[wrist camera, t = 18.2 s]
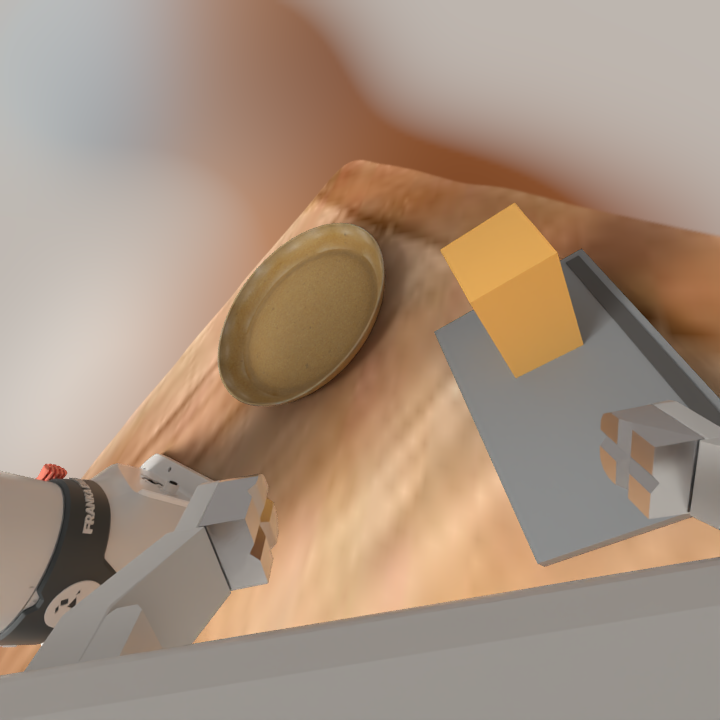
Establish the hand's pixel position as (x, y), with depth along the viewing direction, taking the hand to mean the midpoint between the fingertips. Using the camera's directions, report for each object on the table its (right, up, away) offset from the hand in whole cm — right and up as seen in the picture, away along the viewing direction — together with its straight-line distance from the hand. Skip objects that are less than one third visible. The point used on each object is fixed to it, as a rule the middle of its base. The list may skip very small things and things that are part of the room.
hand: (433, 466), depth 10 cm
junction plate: (+13, 0, +20) cm, 24 cm away
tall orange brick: (+11, +4, +21) cm, 24 cm away
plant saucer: (-8, +7, +40) cm, 41 cm away
